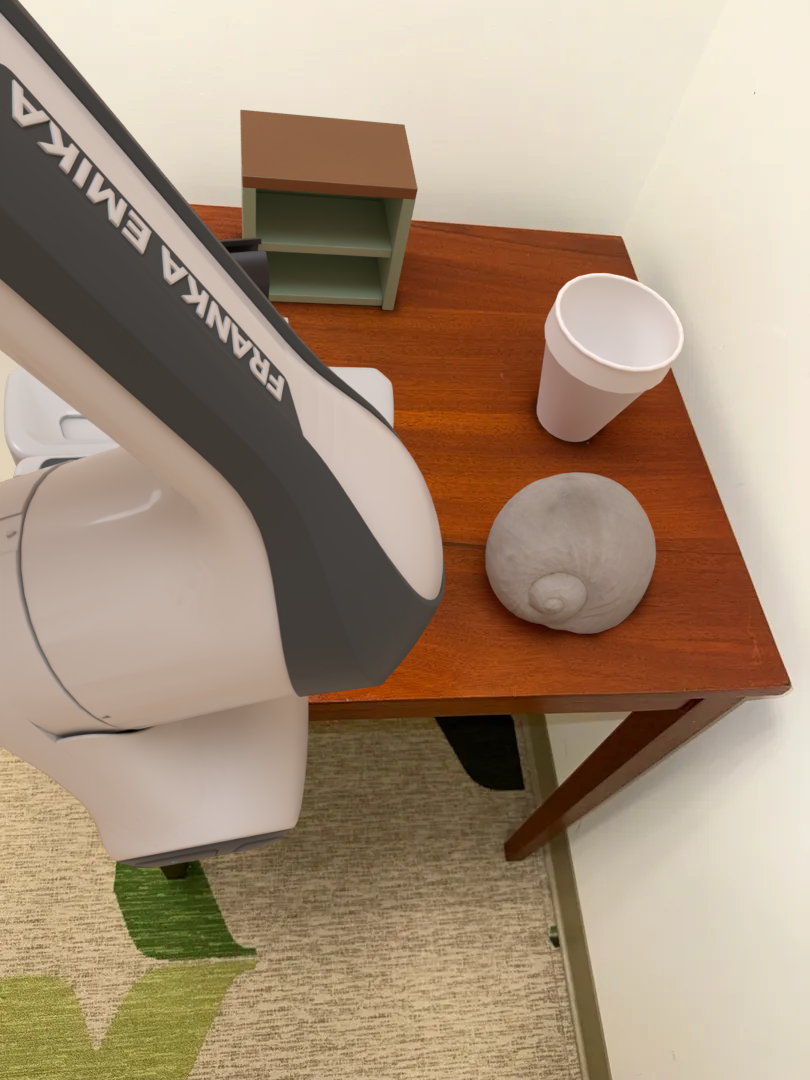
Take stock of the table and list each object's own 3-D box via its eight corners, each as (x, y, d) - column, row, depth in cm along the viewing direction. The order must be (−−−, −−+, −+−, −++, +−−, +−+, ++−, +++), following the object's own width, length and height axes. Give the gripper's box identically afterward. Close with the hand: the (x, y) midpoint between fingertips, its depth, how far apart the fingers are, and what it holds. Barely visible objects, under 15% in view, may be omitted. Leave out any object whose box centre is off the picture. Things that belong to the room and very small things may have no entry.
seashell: (466, 581, 76) (462, 601, 61) (520, 450, 75) (530, 438, 60) (609, 641, 75) (640, 675, 60) (667, 509, 74) (713, 511, 59)
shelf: (244, 304, 81) (242, 175, 68) (242, 240, 85) (240, 109, 73) (393, 310, 84) (418, 188, 71) (383, 248, 89) (404, 124, 76)
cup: (620, 476, 77) (685, 386, 66) (504, 445, 77) (548, 348, 65) (626, 389, 84) (685, 292, 72) (518, 359, 83) (561, 257, 72)
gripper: (422, 484, 38) (391, 289, 45) (-28, 486, 34) (13, 270, 41) (401, 547, 43) (377, 364, 50) (11, 555, 39) (41, 354, 46)
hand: (211, 322), depth 45 cm, fingers closed on phone stand, 6 cm apart
